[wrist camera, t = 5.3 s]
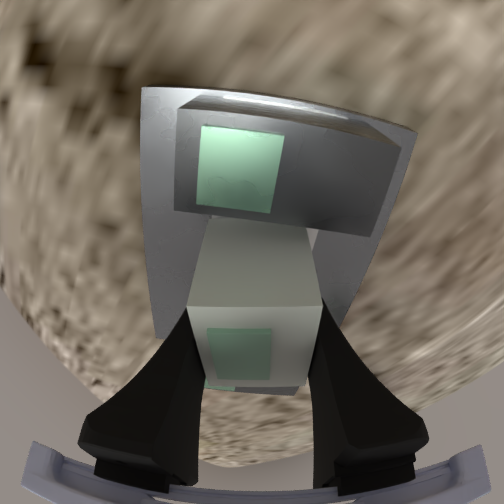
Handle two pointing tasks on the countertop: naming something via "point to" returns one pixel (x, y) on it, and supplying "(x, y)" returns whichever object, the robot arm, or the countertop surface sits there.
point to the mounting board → (263, 186)
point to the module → (255, 304)
